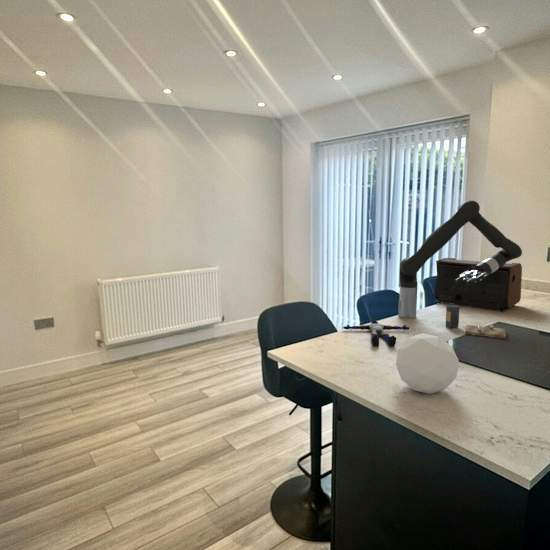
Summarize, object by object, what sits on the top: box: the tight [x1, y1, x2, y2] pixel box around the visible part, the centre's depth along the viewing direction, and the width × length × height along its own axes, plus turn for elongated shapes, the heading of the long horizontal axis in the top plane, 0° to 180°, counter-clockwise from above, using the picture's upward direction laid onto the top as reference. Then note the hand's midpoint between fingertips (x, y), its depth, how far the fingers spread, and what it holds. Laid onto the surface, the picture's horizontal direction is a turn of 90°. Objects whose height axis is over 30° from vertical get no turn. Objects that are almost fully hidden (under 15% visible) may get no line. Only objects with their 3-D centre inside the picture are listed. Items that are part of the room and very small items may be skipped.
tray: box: [464, 324, 507, 340], centre depth 191 cm, size 17×12×4 cm
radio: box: [433, 257, 523, 313], centre depth 245 cm, size 45×32×28 cm
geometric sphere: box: [395, 332, 460, 395], centre depth 132 cm, size 19×20×20 cm
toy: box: [342, 319, 410, 348], centre depth 190 cm, size 33×6×30 cm
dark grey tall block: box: [445, 304, 461, 330], centre depth 201 cm, size 5×4×11 cm
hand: (461, 282), depth 202 cm, fingers open, 8 cm apart
